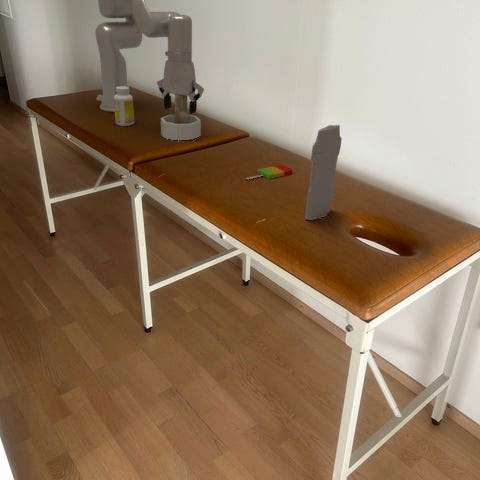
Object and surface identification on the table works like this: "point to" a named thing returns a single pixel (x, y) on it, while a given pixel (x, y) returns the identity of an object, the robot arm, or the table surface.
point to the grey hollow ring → (180, 128)
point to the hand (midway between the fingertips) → (180, 110)
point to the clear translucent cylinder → (180, 109)
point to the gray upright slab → (323, 172)
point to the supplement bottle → (123, 106)
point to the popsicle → (273, 172)
